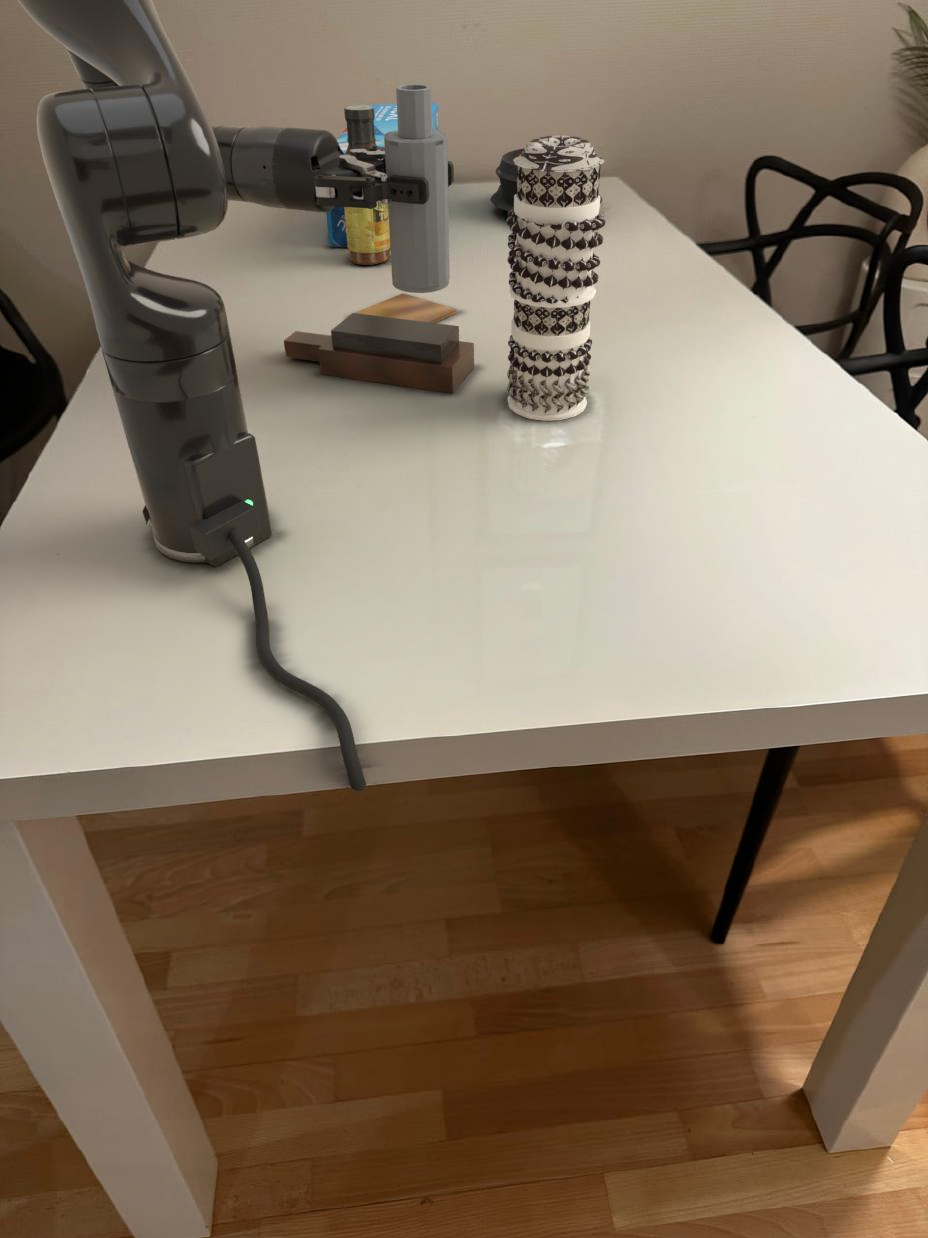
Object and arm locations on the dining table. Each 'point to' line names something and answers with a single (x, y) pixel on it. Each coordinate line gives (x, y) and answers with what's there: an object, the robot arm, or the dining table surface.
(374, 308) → the cork mat
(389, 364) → the scrub brush
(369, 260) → the sauce bottle
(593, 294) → the decorative candle
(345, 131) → the soda pack
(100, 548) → the dining table surface
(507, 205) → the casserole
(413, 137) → the steel bottle
